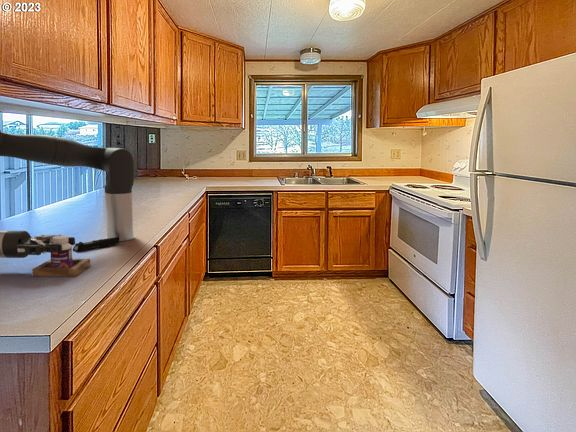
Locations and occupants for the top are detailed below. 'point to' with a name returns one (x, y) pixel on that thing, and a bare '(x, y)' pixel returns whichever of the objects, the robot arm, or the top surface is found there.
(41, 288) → the top surface
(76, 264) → the socket block
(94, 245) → the electric trimmer
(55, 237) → the pill bottle
